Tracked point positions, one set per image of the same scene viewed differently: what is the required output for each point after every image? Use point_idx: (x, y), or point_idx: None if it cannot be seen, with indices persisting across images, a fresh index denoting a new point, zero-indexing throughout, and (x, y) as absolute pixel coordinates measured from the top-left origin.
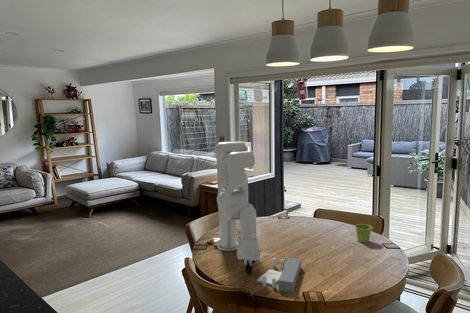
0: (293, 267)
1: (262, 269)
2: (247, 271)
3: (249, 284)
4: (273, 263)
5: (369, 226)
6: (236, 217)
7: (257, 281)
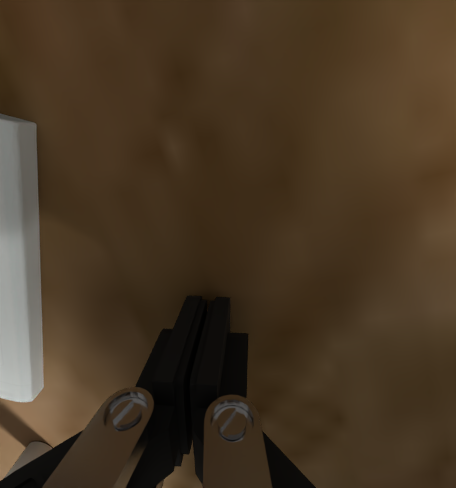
0: None
1: None
2: (213, 310)
3: (93, 7)
4: None
5: None
6: None
7: (14, 120)
